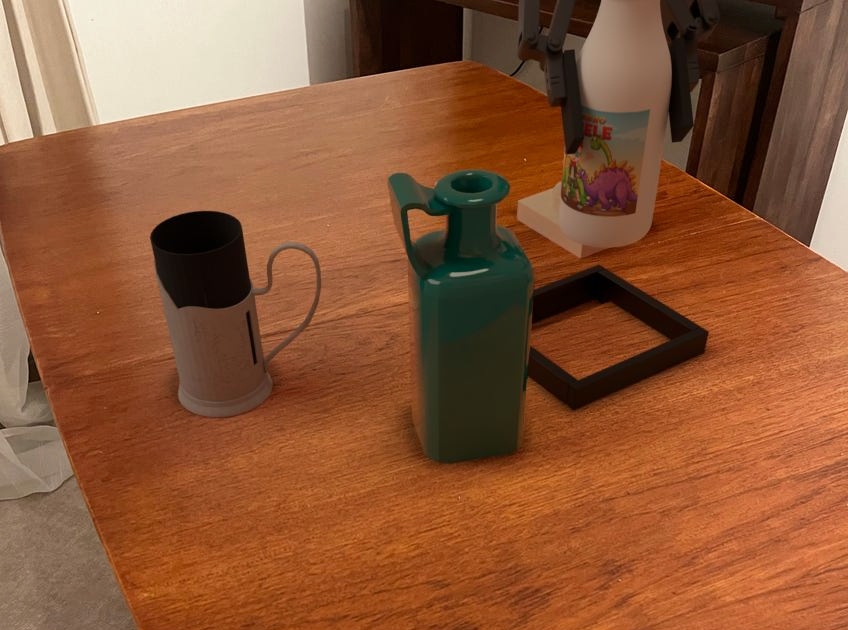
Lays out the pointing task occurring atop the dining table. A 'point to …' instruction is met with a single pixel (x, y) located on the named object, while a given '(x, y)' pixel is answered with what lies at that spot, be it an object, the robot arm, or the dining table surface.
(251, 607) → the dining table surface
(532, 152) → the dining table surface
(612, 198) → the milk bottle
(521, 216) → the control box
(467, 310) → the pitcher
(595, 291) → the black square frame
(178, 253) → the glass holder
